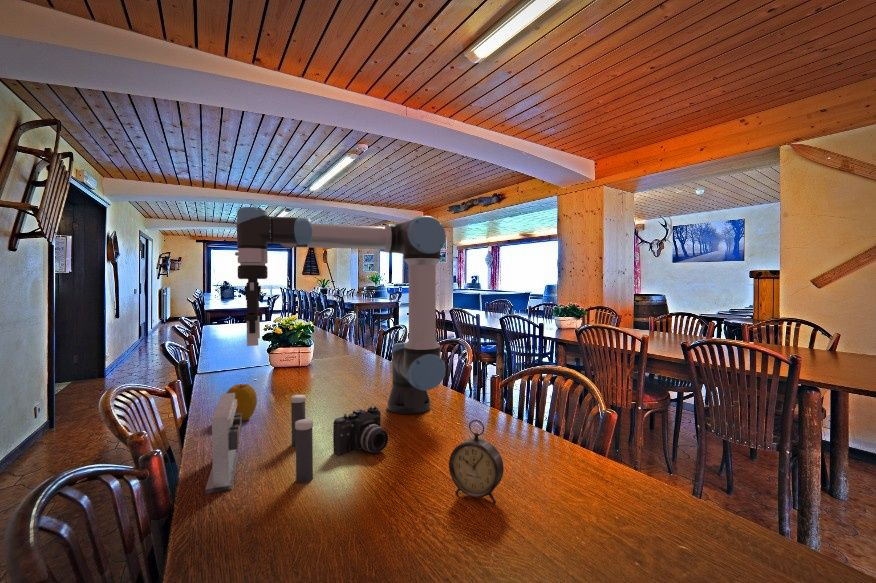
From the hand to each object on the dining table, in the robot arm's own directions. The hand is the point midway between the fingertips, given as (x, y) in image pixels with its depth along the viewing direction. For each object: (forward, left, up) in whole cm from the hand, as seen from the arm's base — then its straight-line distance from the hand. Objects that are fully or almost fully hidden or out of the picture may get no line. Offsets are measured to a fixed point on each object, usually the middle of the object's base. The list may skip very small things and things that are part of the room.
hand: (253, 341), depth 116 cm
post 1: (-11, +6, -28) cm, 31 cm away
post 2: (-11, +28, -28) cm, 41 cm away
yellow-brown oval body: (+5, -21, -28) cm, 36 cm away
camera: (-27, +17, -28) cm, 43 cm away
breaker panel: (+6, +17, -28) cm, 33 cm away
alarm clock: (-44, +49, -28) cm, 71 cm away
